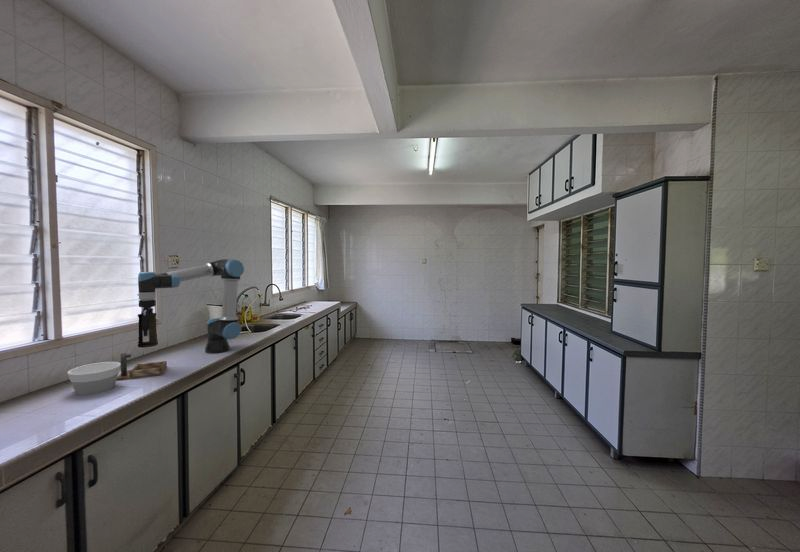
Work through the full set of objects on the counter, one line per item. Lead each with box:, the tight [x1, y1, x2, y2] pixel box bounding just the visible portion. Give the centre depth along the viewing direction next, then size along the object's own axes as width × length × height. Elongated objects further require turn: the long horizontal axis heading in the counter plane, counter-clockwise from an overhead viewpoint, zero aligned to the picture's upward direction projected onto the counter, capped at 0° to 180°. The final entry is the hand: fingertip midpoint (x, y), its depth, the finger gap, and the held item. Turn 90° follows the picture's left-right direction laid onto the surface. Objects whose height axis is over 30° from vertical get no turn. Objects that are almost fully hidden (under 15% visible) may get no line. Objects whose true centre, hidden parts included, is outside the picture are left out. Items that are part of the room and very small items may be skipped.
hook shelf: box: [116, 352, 168, 382], centre depth 180 cm, size 20×14×13 cm
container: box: [137, 312, 159, 349], centre depth 181 cm, size 9×9×18 cm
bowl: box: [67, 361, 121, 396], centre depth 159 cm, size 19×19×11 cm
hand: (148, 339), depth 181 cm, fingers closed on container, 8 cm apart
